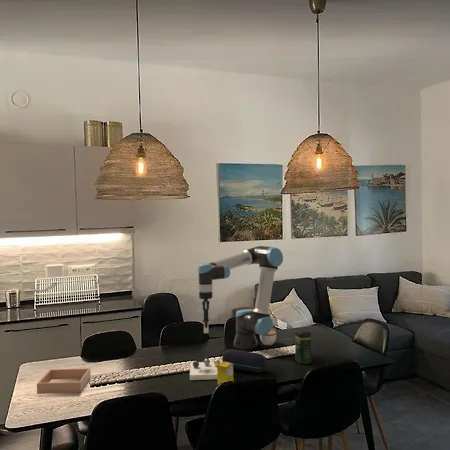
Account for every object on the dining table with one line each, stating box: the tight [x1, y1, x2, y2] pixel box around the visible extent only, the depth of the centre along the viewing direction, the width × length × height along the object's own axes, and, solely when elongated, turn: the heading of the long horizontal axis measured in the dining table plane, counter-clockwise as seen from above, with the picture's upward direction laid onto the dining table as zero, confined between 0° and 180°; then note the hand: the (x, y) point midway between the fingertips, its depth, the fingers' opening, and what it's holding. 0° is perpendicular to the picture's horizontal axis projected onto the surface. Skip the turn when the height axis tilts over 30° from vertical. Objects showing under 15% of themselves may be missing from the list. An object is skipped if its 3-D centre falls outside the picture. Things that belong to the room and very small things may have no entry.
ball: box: [203, 358, 211, 365], centre depth 262 cm, size 3×3×3 cm
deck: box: [189, 361, 223, 381], centre depth 257 cm, size 20×18×2 cm
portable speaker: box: [221, 348, 267, 374], centre depth 261 cm, size 25×10×10 cm, turn 60°
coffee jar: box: [294, 328, 312, 365], centre depth 272 cm, size 10×8×19 cm
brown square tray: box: [36, 367, 91, 395], centre depth 241 cm, size 21×20×5 cm
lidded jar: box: [259, 329, 277, 346], centre depth 308 cm, size 11×11×9 cm
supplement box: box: [216, 361, 234, 386], centre depth 238 cm, size 6×6×11 cm
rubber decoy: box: [192, 360, 200, 367], centre depth 258 cm, size 3×3×3 cm
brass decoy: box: [213, 359, 221, 366], centre depth 260 cm, size 3×3×3 cm
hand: (206, 332), depth 270 cm, fingers closed
